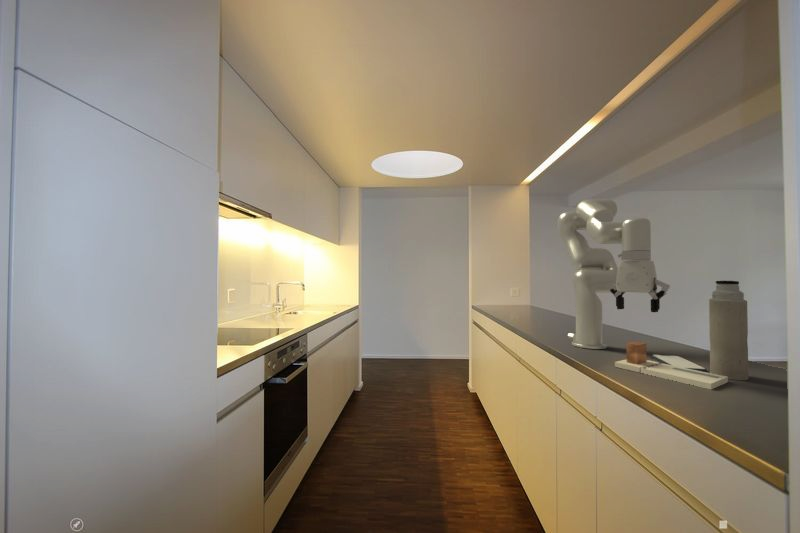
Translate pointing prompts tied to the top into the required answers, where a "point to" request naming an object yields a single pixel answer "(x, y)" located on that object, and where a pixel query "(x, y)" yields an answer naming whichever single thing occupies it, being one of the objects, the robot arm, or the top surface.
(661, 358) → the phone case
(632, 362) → the stub
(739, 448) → the top surface
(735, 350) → the thermos bottle
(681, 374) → the flat white tray
